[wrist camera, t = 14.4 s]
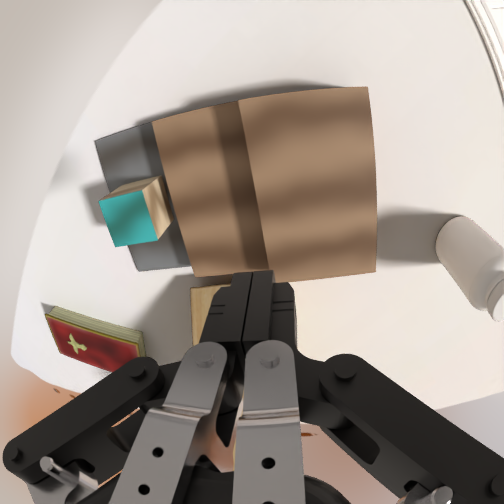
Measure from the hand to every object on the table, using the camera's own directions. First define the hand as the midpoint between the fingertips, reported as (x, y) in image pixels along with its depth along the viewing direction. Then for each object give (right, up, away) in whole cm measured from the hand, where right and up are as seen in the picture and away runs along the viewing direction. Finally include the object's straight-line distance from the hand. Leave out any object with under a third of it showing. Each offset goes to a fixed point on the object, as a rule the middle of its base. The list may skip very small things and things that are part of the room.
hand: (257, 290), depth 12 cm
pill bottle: (+29, +3, +24) cm, 38 cm away
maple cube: (-14, +5, +20) cm, 25 cm away
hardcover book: (-30, -16, +42) cm, 54 cm away
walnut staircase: (-3, +9, +24) cm, 26 cm away
